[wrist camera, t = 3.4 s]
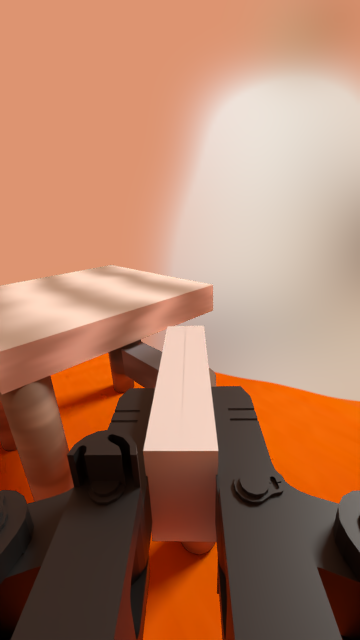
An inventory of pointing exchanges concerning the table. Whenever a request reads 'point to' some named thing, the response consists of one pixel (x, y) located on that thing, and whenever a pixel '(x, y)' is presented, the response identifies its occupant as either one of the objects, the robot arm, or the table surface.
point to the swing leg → (144, 369)
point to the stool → (74, 350)
